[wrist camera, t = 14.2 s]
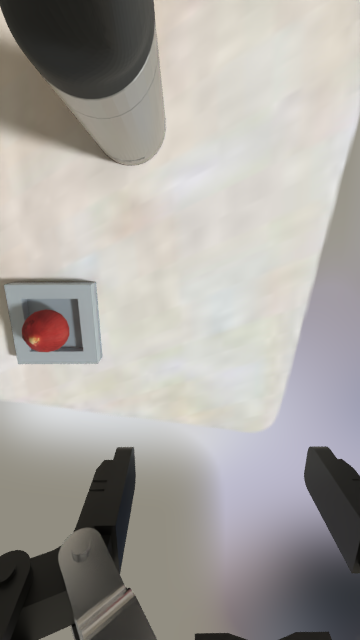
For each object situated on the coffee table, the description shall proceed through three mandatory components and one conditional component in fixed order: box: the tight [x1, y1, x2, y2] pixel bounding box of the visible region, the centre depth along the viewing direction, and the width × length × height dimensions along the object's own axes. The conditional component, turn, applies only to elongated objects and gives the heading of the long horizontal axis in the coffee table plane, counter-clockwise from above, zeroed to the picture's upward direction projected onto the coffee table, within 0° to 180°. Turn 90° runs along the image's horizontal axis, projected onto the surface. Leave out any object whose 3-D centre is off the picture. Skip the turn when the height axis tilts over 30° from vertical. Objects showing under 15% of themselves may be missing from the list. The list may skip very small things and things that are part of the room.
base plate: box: [4, 282, 102, 364], centre depth 41 cm, size 12×12×2 cm
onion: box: [22, 309, 69, 352], centre depth 37 cm, size 6×6×8 cm
